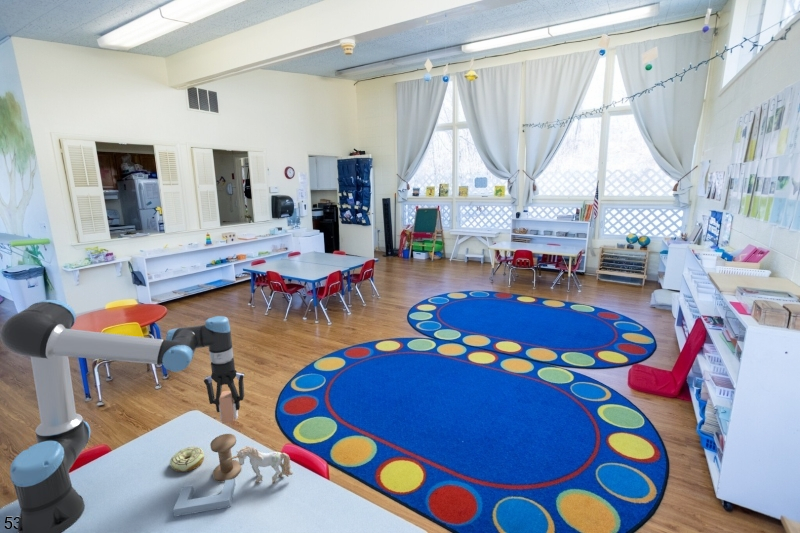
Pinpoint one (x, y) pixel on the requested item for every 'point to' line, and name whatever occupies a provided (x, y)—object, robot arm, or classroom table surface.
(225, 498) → the u-shaped block
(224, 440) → the bobbin
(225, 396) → the tab
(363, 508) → the classroom table surface
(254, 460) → the unicorn figurine
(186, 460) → the decorated donut
